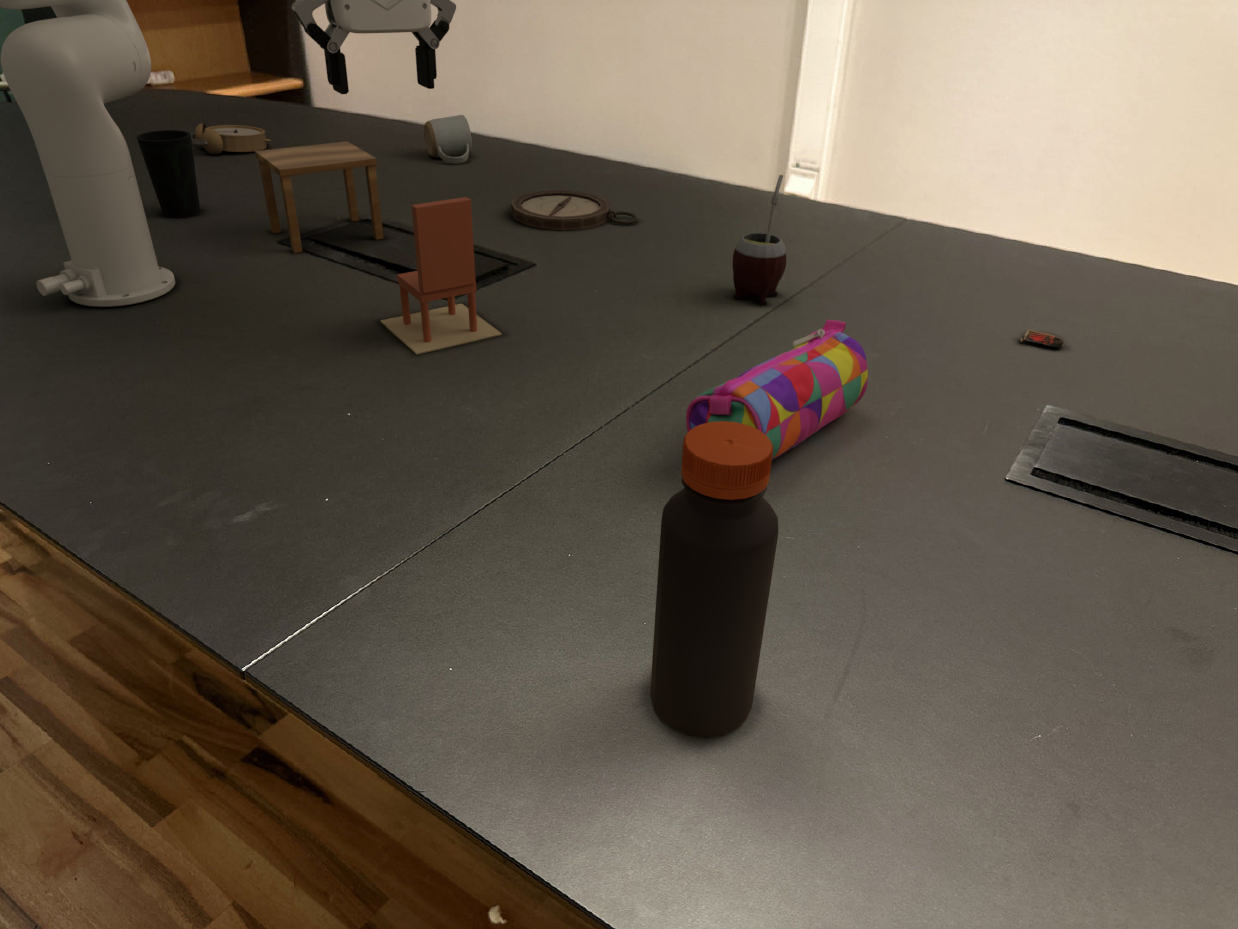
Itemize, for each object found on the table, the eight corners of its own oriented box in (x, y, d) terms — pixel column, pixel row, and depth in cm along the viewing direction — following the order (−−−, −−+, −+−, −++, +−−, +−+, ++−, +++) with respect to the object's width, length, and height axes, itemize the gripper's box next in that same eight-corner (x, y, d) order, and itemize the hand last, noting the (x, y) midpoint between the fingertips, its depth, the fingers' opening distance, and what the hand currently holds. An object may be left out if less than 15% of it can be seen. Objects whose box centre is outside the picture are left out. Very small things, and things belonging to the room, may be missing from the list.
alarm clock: (274, 135, 180) (195, 128, 171) (274, 160, 182) (195, 155, 173) (255, 124, 187) (178, 118, 178) (256, 149, 189) (179, 143, 180)
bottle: (743, 663, 63) (778, 412, 52) (759, 740, 57) (802, 476, 46) (646, 664, 62) (661, 411, 52) (652, 741, 57) (671, 475, 46)
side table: (385, 238, 137) (376, 158, 131) (293, 253, 130) (279, 169, 124) (357, 218, 145) (347, 141, 139) (269, 231, 139) (254, 150, 132)
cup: (215, 207, 148) (199, 131, 142) (192, 220, 142) (174, 142, 135) (171, 204, 149) (153, 128, 142) (145, 218, 142) (126, 139, 136)
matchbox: (1065, 350, 109) (1066, 346, 109) (1021, 344, 110) (1022, 341, 110) (1060, 335, 113) (1061, 332, 113) (1017, 330, 114) (1018, 326, 114)
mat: (501, 334, 108) (501, 333, 108) (416, 354, 103) (416, 353, 103) (461, 304, 116) (461, 303, 116) (380, 321, 111) (380, 320, 111)
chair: (480, 331, 109) (472, 199, 100) (426, 344, 105) (413, 207, 97) (454, 311, 114) (444, 183, 105) (401, 322, 110) (387, 191, 102)
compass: (489, 212, 150) (488, 200, 149) (560, 195, 160) (560, 183, 159) (573, 242, 138) (573, 229, 137) (644, 221, 148) (645, 209, 147)
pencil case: (789, 384, 100) (800, 307, 95) (867, 411, 95) (883, 332, 90) (674, 462, 85) (681, 376, 80) (760, 499, 80) (772, 410, 75)
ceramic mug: (423, 153, 182) (420, 113, 178) (462, 150, 186) (460, 111, 181) (438, 166, 175) (435, 125, 170) (479, 163, 178) (477, 122, 174)
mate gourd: (740, 308, 118) (753, 193, 110) (719, 286, 124) (729, 176, 116) (792, 304, 120) (808, 190, 112) (769, 283, 126) (782, 174, 118)
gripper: (291, -98, 82) (316, 101, 91) (465, -91, 90) (472, 90, 99) (268, -101, 87) (294, 87, 96) (434, -94, 96) (443, 79, 105)
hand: (384, 89), depth 98 cm, fingers open, 9 cm apart
